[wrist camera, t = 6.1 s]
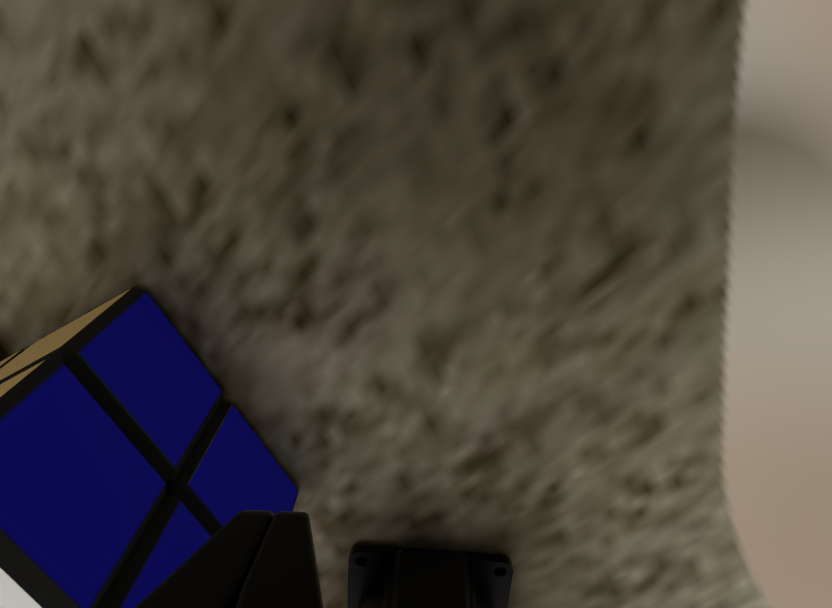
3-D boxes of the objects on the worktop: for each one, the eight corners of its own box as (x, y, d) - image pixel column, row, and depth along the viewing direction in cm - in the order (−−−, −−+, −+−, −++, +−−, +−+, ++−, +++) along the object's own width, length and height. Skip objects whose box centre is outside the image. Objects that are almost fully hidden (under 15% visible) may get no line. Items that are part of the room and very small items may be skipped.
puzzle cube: (305, 491, 24) (223, 767, 15) (108, 576, 26) (-69, 863, 17) (144, 279, 21) (-86, 468, 12) (-66, 397, 23) (-398, 634, 14)
